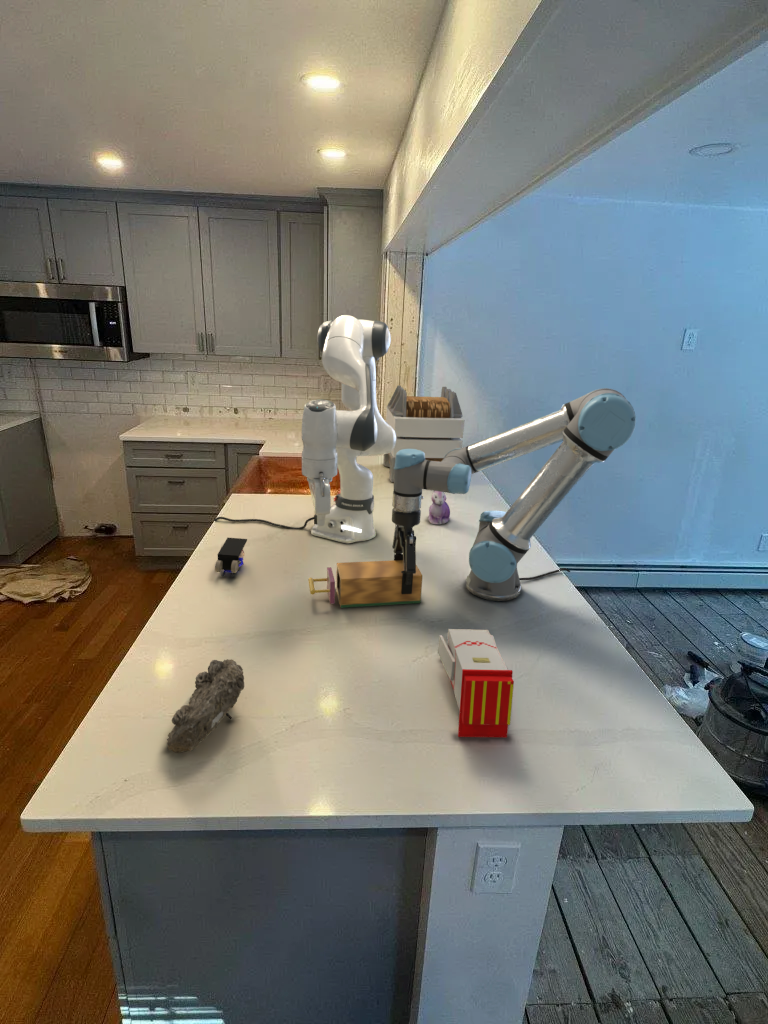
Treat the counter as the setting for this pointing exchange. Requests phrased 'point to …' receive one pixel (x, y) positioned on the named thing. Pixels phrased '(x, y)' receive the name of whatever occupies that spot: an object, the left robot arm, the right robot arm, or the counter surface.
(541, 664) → the counter surface
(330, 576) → the drawer
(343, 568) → the wooden box
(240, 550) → the figurine character
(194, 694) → the fossil
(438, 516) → the figurine
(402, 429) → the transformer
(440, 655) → the toy
